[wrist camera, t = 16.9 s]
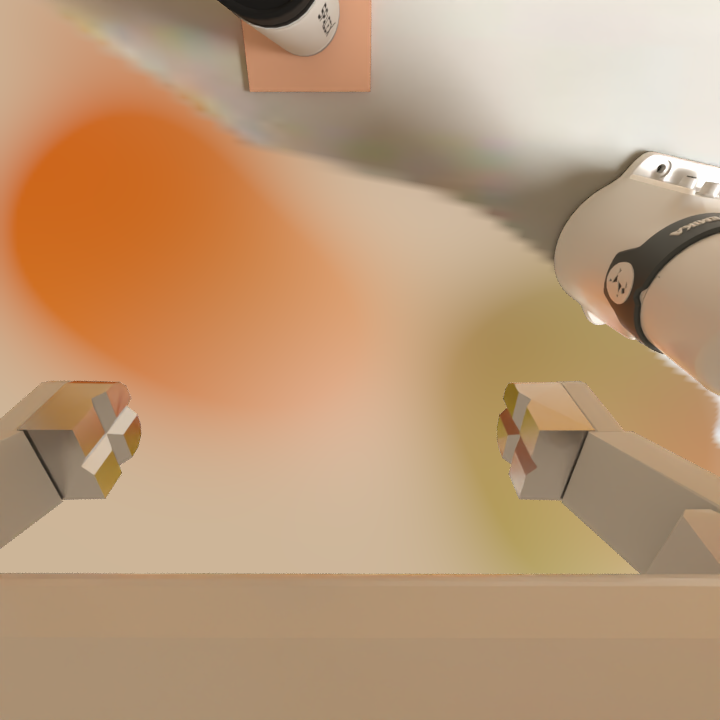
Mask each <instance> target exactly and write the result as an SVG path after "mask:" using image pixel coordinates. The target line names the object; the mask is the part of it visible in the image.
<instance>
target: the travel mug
mask: <svg viewBox="0 0 720 720" xmlns="http://www.w3.org/2000/svg"><path fill="white" fill-rule="evenodd" d="M218 1H219V2H220V3H222V4H223V5H224V6H226V7H227V8H228V9H229V10H231V11H232V12H233V13H234V14H235V15H237V16H238V17H239V18H240V19H242V20H243V21H244V22H246V23H247V24H249V25H250V26H252V27H253V28H254V29H256V30H257V31H259V32H260V33H262V34H263V35H265V36H266V37H267V38H269V39H270V40H272V41H273V42H275V43H276V44H278V45H279V46H280V47H282V48H283V49H285V50H286V51H288V52H290V53H292V54H294V55H297V56H301V57H309V56H313V55H316V54H318V53H320V52H322V51H323V50H324V49H325V48H326V47H327V46H328V45H329V44H330V43H331V41H332V40H333V38H334V36H335V34H336V31H337V28H338V24H339V17H340V6H339V0H218Z"/></svg>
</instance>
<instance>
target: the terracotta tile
mask: <svg viewBox="0 0 720 720" xmlns="http://www.w3.org/2000/svg"><path fill="white" fill-rule="evenodd" d="M339 6H340V17H339V24H338V28H337V31H336V34H335V36H334V38H333V40H332V41H331V43H330V44H329V45H328V46H327V47H326V48H325V49H324V50H323V51H322V52H320V53H318V54H316V55H313V56H309V57H301V56H297V55H294V54H292V53H290V52H288V51H286V50H285V49H283V48H282V47H280V46H279V45H278V44H276V43H275V42H273V41H272V40H270V39H269V38H267V37H266V36H265V35H263V34H262V33H260V32H259V31H257V30H256V29H254V28H253V27H252V26H250V25H249V24H247V23H246V22H244V21H243V20H242V19H241V21H242V29H243V38H244V46H245V55H246V63H247V71H248V80H249V88H250V92H370V72H371V0H339Z"/></svg>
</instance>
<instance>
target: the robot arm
mask: <svg viewBox="0 0 720 720" xmlns="http://www.w3.org/2000/svg"><path fill="white" fill-rule="evenodd" d="M659 165H661V169H660V170H659V171H658V172H657V168H658V166H659ZM554 267H555V273H556V277H557V279H558V282H559V284H560V286H561V287H562V289H563V290H564V291H565V292H566V293H567V294H568V295H569V296H570V297H572V298H573V299H574V300H576V301H577V302H578V303H579V304H580V305H581V307H582V309H583V312H584V314H585V316H586V318H587V319H588V320H589V321H590V322H592V323H593V324H596V325H601V324H607V325H608V326H610V327H612V328H613V329H614V330H616V331H617V332H619V333H621V334H622V335H623V336H625V337H626V338H629V339H633V340H634V339H636V340H638V341H639V342H640V343H642V344H644V345H645V346H647V347H649V348H650V349H652V350H654V351H656V352H659V353H662V354H665V355H666V356H667V357H668V358H670V359H671V360H672V361H673V362H674V363H676V364H677V365H678V366H679V367H681V368H682V369H683V370H684V371H685V372H687V373H688V374H689V375H690V376H692V377H693V378H694V379H695V380H696V381H698V382H699V383H700V384H701V385H702V386H704V387H705V388H706V389H707V390H709V391H711V392H713V393H715V394H717V395H719V396H720V167H717V166H712V165H708V164H704V163H700V162H695V161H691V160H687V159H682V158H678V157H674V156H670V155H665V154H661V153H657V152H647V153H644V154H643V155H641V156H640V157H639V158H637V159H636V160H635V161H634V162H633V163H632V164H631V165H630V167H629V168H628V169H627V170H626V171H625V172H624V173H623V174H622V175H621V177H619V178H618V179H617V180H615V181H614V182H612V183H611V184H609V185H607V186H605V187H604V188H602V189H600V190H599V191H597V192H596V193H594V194H593V195H592V196H590V197H589V198H588V199H587V200H586V201H585V202H583V203H582V204H581V205H580V206H579V207H578V209H577V210H576V211H575V212H574V213H573V214H572V216H571V217H570V218H569V220H568V221H567V223H566V225H565V226H564V228H563V230H562V232H561V234H560V237H559V239H558V242H557V245H556V250H555V256H554ZM130 400H131V396H130V394H129V391H128V389H127V386H126V385H124V384H122V383H121V382H104V381H47V382H43V383H41V384H40V385H39V386H37V387H36V388H35V389H34V390H33V391H32V392H31V393H29V394H28V395H27V396H26V397H25V398H24V399H23V400H22V401H20V402H19V403H18V404H17V405H16V406H15V407H13V408H12V409H11V410H10V411H9V412H7V413H6V414H5V415H4V416H3V417H2V418H1V419H0V549H1V548H2V547H3V546H5V545H6V544H7V543H9V542H10V541H11V540H13V539H14V538H15V537H17V536H18V535H19V534H21V533H22V532H23V531H24V530H26V529H27V528H29V527H30V526H31V525H32V524H34V523H35V522H37V521H38V520H39V519H41V518H42V517H43V516H44V515H46V514H47V513H49V512H50V511H51V510H53V509H54V508H55V507H56V506H58V505H59V504H60V503H62V502H63V501H62V500H70V499H105V498H106V497H107V495H108V494H109V492H110V491H111V489H112V488H113V486H114V485H115V483H116V482H117V480H118V478H119V477H120V475H121V474H122V472H121V468H120V465H121V464H122V463H124V462H125V461H127V460H129V459H130V458H132V456H133V455H134V453H135V452H136V450H137V448H138V446H139V442H140V438H141V424H140V421H139V418H138V415H137V414H136V413H135V412H134V411H132V410H131V409H130V408H129V407H128V404H129V402H130ZM503 400H504V402H505V404H506V406H507V408H506V409H505V410H504V411H503V412H502V413H501V414H500V415H499V419H498V424H497V442H498V446H499V450H500V453H501V455H502V458H503V459H505V460H506V461H507V462H509V463H510V464H511V467H510V471H509V476H510V478H511V481H512V483H513V485H514V488H515V490H516V493H517V495H518V497H519V499H530V500H562V503H563V504H564V505H565V506H566V507H567V508H568V509H569V510H570V511H572V512H573V513H574V514H575V515H576V516H577V517H578V518H579V519H580V520H581V521H583V522H584V523H585V524H586V525H587V526H588V527H589V528H590V529H592V531H594V532H595V533H596V534H597V535H598V536H599V537H600V538H601V539H602V540H604V541H605V542H606V543H607V544H608V545H609V546H610V547H611V548H612V549H613V550H615V551H616V552H617V553H618V554H619V555H620V556H621V557H622V558H623V559H625V560H626V561H627V562H628V563H629V564H630V565H631V566H632V567H633V568H634V569H636V570H637V571H638V572H639V573H640V574H223V573H218V574H216V573H215V574H214V573H212V574H210V573H207V574H205V573H202V574H201V573H199V574H198V573H197V574H196V573H191V574H190V573H188V574H187V573H184V574H183V573H166V574H165V573H160V574H159V573H0V720H720V477H718V476H716V475H714V474H713V473H711V472H709V471H707V470H705V469H703V468H701V467H699V466H697V465H696V464H694V463H692V462H690V461H688V460H686V459H684V458H682V457H680V456H678V455H676V454H675V453H673V452H671V451H669V450H667V449H665V448H663V447H661V446H659V445H657V444H656V443H654V442H652V441H650V440H648V439H646V438H644V437H642V436H640V435H638V434H636V433H635V432H630V431H624V430H623V429H622V428H621V426H620V425H619V424H618V423H617V421H616V420H615V419H614V418H613V416H612V415H611V414H610V413H609V411H608V410H607V409H606V408H605V406H603V404H602V403H601V402H600V400H599V399H598V398H597V397H596V395H595V394H594V393H593V392H592V390H591V389H590V388H589V387H588V385H587V384H585V383H583V382H581V381H569V382H555V383H554V382H552V383H551V382H550V383H509V384H508V385H507V387H506V389H505V392H504V396H503Z"/></svg>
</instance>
